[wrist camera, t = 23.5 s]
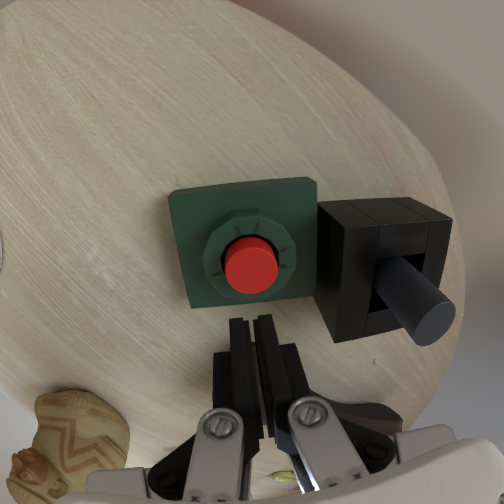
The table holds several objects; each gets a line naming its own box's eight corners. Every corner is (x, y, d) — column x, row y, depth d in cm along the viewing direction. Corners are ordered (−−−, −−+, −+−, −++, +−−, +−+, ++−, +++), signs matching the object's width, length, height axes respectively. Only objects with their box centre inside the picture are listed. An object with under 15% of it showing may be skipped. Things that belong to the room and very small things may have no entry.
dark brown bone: (376, 400, 37) (245, 310, 31) (421, 424, 27) (283, 331, 21) (336, 452, 34) (188, 383, 28) (374, 484, 24) (201, 433, 18)
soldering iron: (345, 266, 23) (408, 352, 13) (348, 232, 22) (422, 308, 12) (377, 262, 23) (446, 339, 13) (380, 229, 22) (462, 296, 12)
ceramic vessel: (93, 367, 27) (38, 550, 4) (165, 443, 35) (156, 574, 12) (21, 370, 27) (-34, 492, 5) (90, 439, 35) (67, 544, 13)
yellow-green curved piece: (326, 458, 42) (328, 467, 40) (292, 478, 46) (293, 485, 44) (297, 458, 40) (299, 467, 38) (265, 477, 44) (266, 485, 42)
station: (193, 294, 23) (188, 323, 20) (174, 190, 20) (161, 203, 16) (309, 281, 24) (322, 308, 20) (308, 176, 20) (325, 186, 16)
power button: (228, 282, 19) (228, 296, 17) (222, 239, 18) (221, 250, 16) (275, 277, 19) (279, 291, 17) (272, 234, 18) (276, 244, 16)
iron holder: (314, 299, 24) (334, 343, 19) (315, 201, 21) (344, 227, 15) (398, 285, 25) (429, 320, 19) (409, 197, 21) (453, 218, 16)
